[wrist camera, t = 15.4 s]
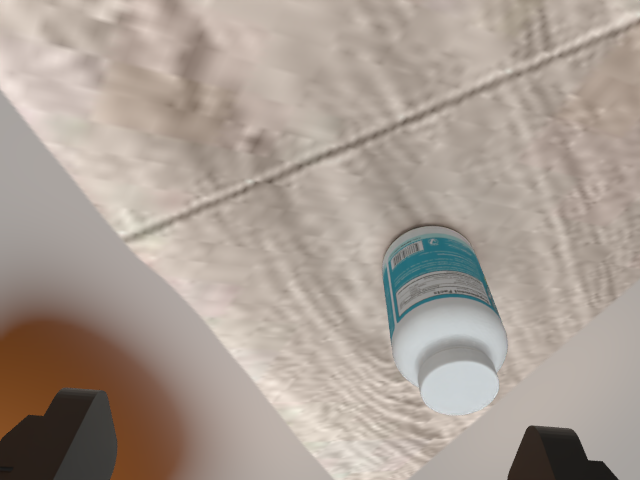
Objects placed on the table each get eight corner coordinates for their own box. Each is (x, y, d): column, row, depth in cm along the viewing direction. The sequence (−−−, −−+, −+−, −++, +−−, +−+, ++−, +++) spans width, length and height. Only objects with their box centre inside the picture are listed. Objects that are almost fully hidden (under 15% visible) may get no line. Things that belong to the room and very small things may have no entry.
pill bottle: (451, 306, 47) (487, 442, 35) (368, 284, 46) (378, 417, 34) (491, 235, 43) (547, 362, 31) (401, 210, 42) (425, 332, 30)
